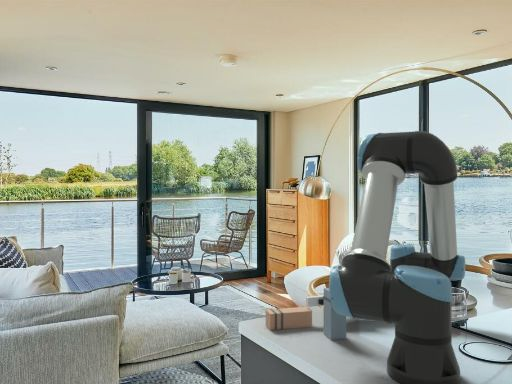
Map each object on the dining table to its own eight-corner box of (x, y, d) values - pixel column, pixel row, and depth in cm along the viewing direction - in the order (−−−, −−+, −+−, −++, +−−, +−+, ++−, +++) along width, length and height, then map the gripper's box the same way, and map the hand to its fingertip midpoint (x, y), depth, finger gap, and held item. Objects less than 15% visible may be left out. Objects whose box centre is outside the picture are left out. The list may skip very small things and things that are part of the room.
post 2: (338, 332, 123) (338, 287, 123) (346, 338, 119) (346, 291, 118) (323, 334, 122) (323, 288, 122) (330, 340, 117) (330, 292, 117)
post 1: (306, 306, 133) (265, 309, 130) (312, 310, 129) (270, 313, 125) (305, 321, 133) (265, 325, 130) (312, 326, 129) (270, 330, 125)
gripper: (387, 313, 132) (316, 320, 125) (364, 302, 144) (298, 308, 137) (387, 288, 132) (316, 294, 125) (364, 279, 144) (298, 284, 137)
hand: (307, 301), depth 131 cm, fingers closed
